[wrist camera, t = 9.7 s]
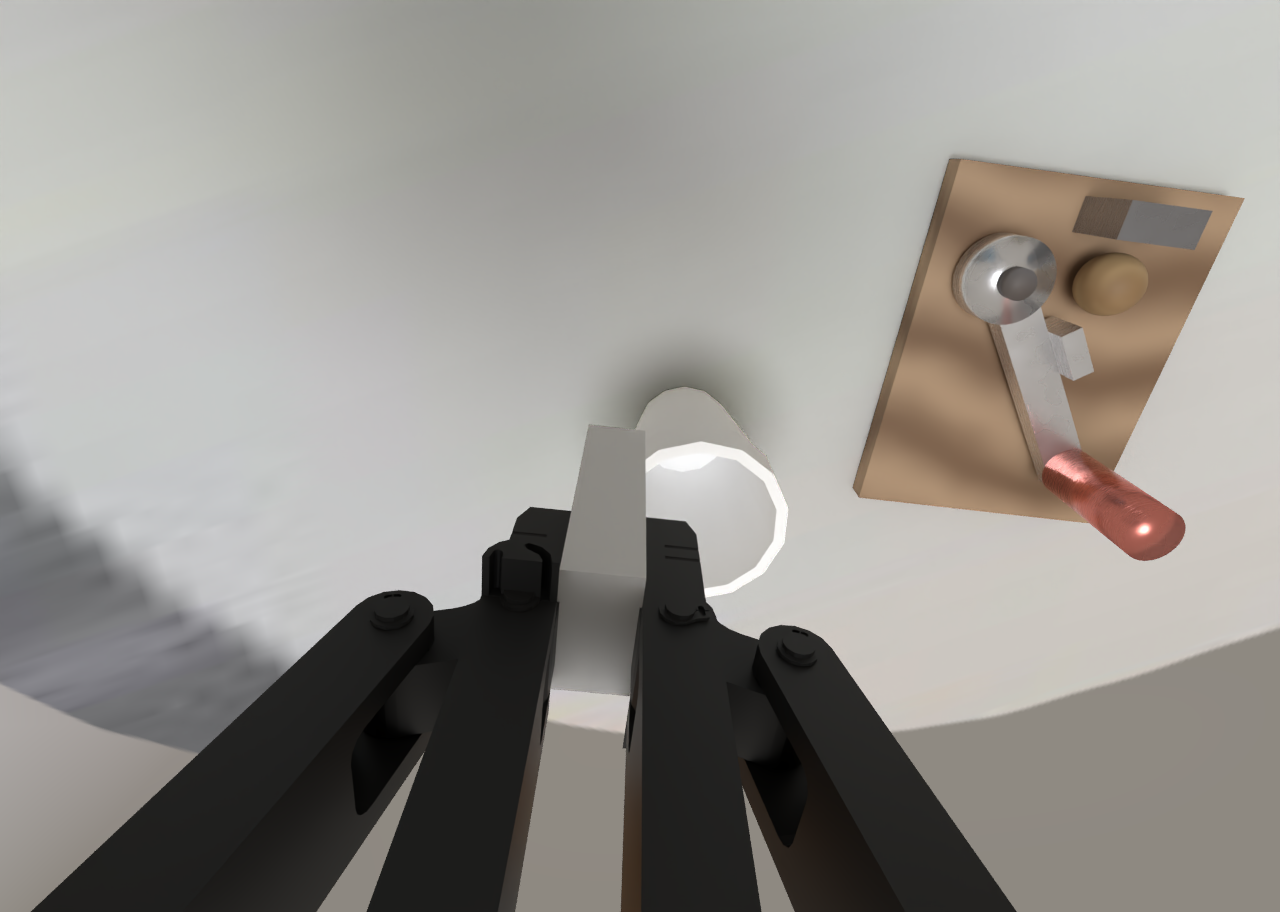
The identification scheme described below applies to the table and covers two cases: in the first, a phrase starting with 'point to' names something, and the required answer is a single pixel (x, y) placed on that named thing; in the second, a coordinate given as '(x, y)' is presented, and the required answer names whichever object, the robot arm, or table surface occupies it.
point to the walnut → (1110, 284)
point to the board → (969, 361)
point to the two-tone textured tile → (1142, 222)
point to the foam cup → (712, 486)
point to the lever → (1056, 395)
